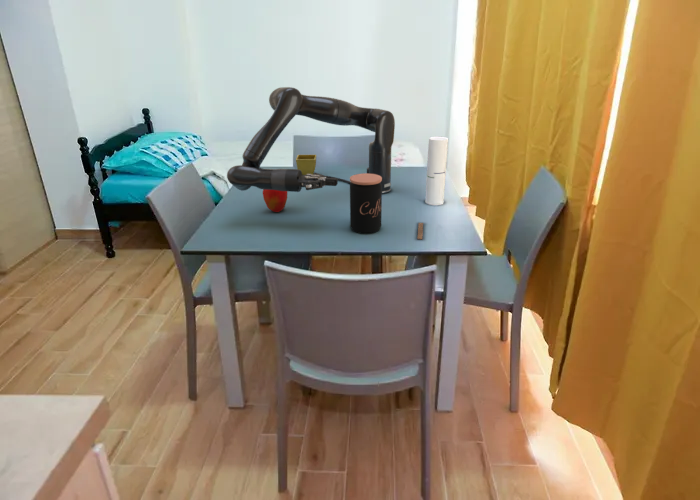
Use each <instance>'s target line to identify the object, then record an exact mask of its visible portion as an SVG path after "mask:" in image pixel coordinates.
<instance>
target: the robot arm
mask: <svg viewBox="0 0 700 500" xmlns="http://www.w3.org/2000/svg"><path fill="white" fill-rule="evenodd" d="M268 103H269V107H270V108H271V109H272V110H273V113H272V115H271V116H270V118H269V119H268V120H267V121H266V122H265V124H264V125H263V126H261V128H260V129H259V130H258V131H257V132H256V133H255V134H254V135H253V137H251V140H250V141H249V143H248V144H247V146H246V148H245V149H244V152H243V153H242V164H240V165H239V164H237V165H234V166H231V167H230V168H229V169H228V170H227V173H226V178H227V182H228V183H230V184H231V185H232V186H234V188H235V189H237V190H239V191H242V192H243V191H244V192H245V191H247V190H249V189H251V187H255V188H257V189H260V190H263V189H265V190H277V191H287V192H290V193H291V192H292V193H293V192H295V193H299V192H301V191H302V189H303V188H305V191H311V190H318V189H322V188H323V187H326V186H329V187H336V186H337V185H338V183H339V181H340V182H344V183H347V184H349V185H350V184H351V182H350V180H347V179H343V178H339V177H335V176H330V175H324V174H322V173H318V172H314V173H313V175H312V174H307V175H303V174H302V172H301V170H300V169H297V168H261V165H262V163H263V162H264V160H265V159H266V157H267V156H268V153H269V152H270V150H271V148H273V145H274V144H275V143H276V141H277V139H278V138H279V137H280V135H281V134H282V133H283V131H284V130H285V129H286V127H287V126H288V125H289V123H291V122H292V120H293V119H294V118H295V116H302V117H306V118H308V119H311V120H316V121H319V122H322V123H326V124H330V125H336V126H343V127H344V126H346V127H347V126H354V127H359V128H362V129H365V130H368V131H371V132H373V133H374V140H373V141H370V142H369V144H368V167H367V168H366V173H369V174H376V175H379V176H381V177H382V181H381V182H380V183H381V185H382V194H387V193H390V192H391V191H392V188H391V186H392V181H391V180H392V146H393V144H394V139H395V128H396V120H395V116H394V113H392V112H391V111H390V110H386V109H381V108H371V107H361V106H358V105H355V104H353V103H351V102H348V101H346V100H342V99H338V98H335V97H329V96H315V95H305V94H302V93H301V91H300V90H299V89H297V88H295V87H292V86H291V87H290V86H282V87H281V86H280V87H278V88H275V89H273V90H272V92H271V93H270V95H269V97H268Z"/></svg>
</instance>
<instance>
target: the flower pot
mask: <svg viewBox="0 0 700 500" xmlns="http://www.w3.org/2000/svg"><path fill="white" fill-rule="evenodd" d="M295 162H296V163H295V164H296V169H300V170H301V172H302V174H303V175H307V174H312V175H313V173H315V170H316V167H317V154H297V156H296V158H295Z"/></svg>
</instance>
